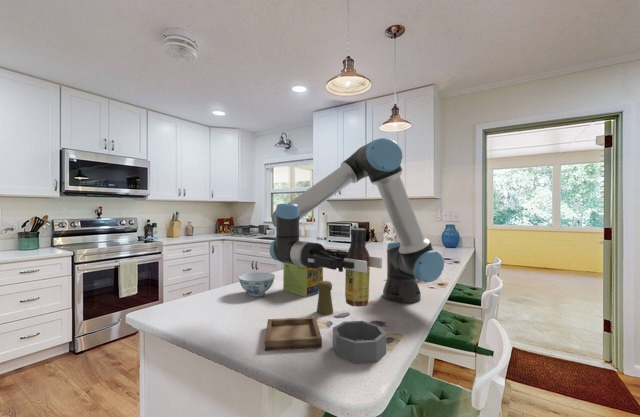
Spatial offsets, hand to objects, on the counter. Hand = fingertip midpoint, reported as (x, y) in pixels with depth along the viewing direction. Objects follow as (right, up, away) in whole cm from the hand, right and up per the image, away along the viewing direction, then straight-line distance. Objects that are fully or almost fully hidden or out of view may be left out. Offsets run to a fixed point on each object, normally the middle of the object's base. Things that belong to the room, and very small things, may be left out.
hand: (373, 264), depth 73 cm
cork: (-12, -23, +31) cm, 40 cm away
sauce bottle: (-4, -11, +4) cm, 12 cm away
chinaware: (-41, -23, +52) cm, 70 cm away
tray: (-21, -23, +11) cm, 33 cm away
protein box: (-21, -23, +57) cm, 65 cm away
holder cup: (-3, -23, +3) cm, 23 cm away
